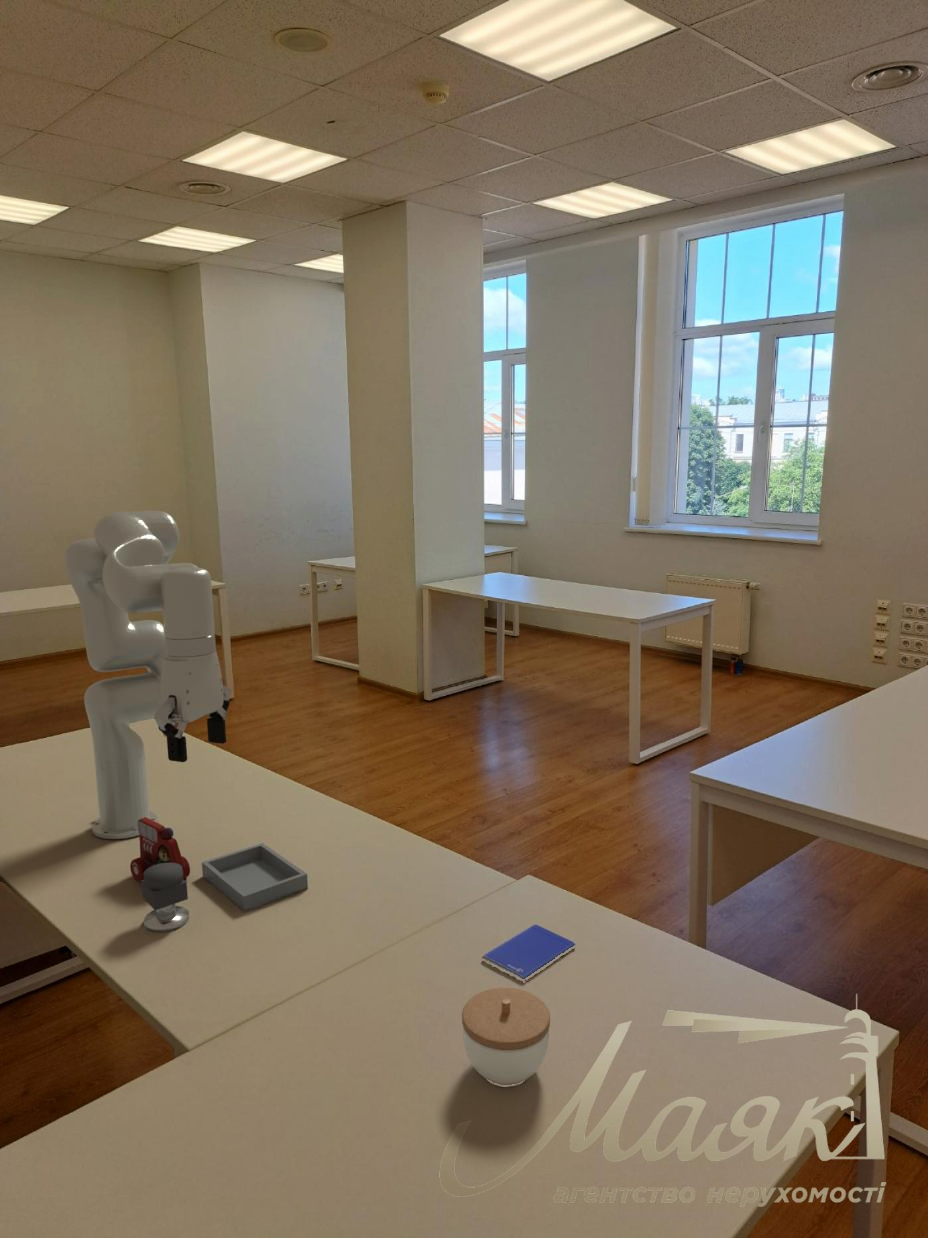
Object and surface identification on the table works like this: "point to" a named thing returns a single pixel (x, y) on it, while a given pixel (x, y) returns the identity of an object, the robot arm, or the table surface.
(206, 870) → the grey shallow rectangular tray
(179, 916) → the silver flared round stand
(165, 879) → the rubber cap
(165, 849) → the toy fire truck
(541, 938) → the hard drive
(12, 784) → the table surface
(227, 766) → the table surface
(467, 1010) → the lidded jar
